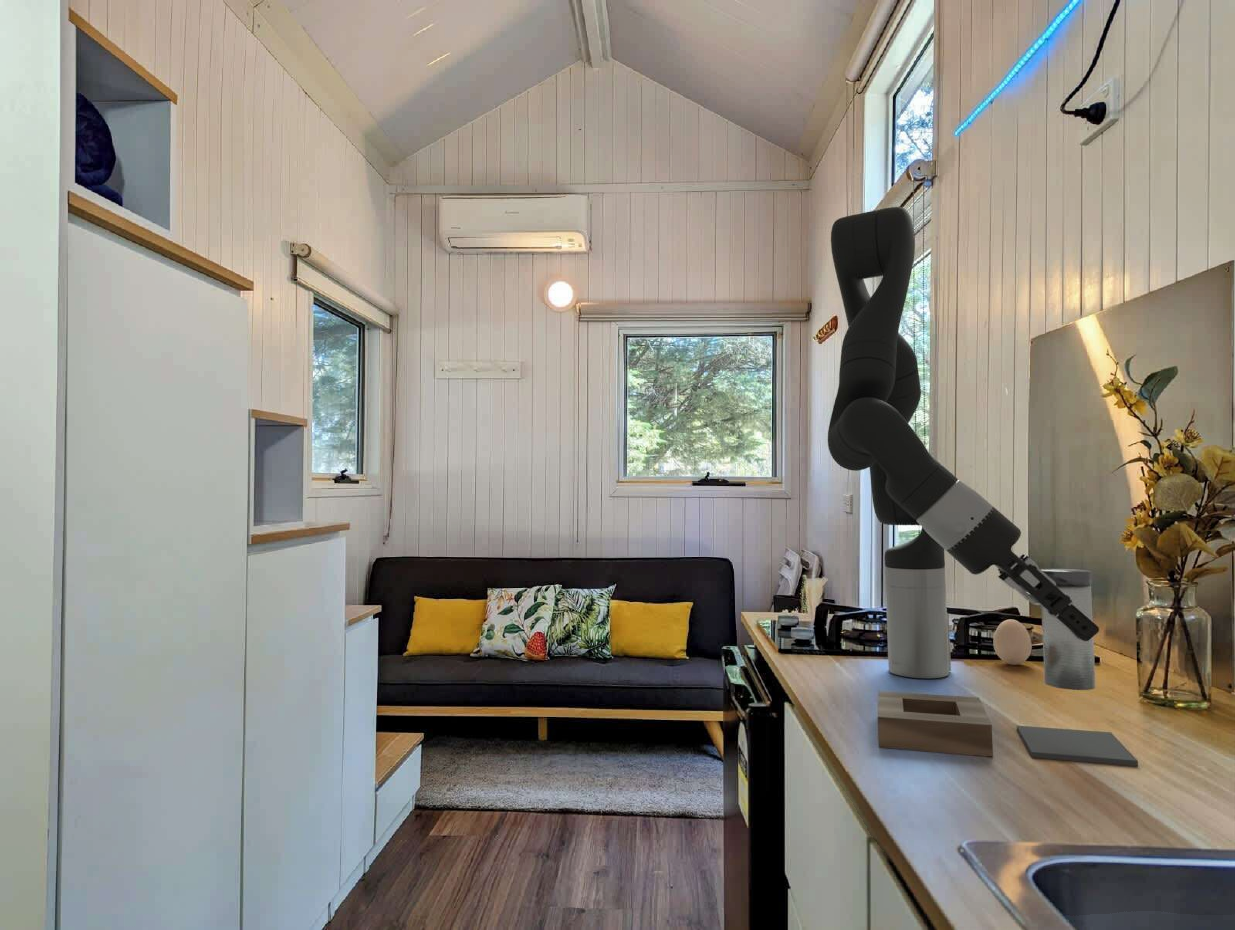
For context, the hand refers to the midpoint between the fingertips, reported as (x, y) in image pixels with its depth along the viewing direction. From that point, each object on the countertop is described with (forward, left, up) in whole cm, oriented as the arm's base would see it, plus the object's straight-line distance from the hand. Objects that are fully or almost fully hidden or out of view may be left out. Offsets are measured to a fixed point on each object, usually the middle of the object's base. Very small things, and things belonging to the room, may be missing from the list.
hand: (1085, 631), depth 86 cm
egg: (-36, -26, -13) cm, 46 cm away
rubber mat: (+1, -2, -13) cm, 13 cm away
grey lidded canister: (+1, -2, -6) cm, 6 cm away
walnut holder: (+9, -14, -13) cm, 21 cm away
